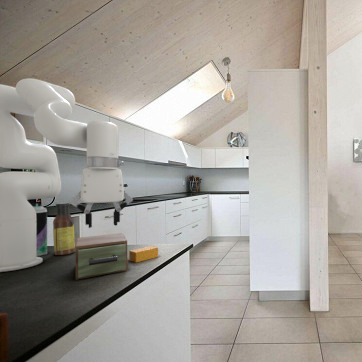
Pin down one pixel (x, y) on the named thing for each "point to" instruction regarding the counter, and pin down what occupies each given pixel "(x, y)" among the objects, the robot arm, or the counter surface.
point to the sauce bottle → (63, 230)
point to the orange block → (143, 254)
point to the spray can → (41, 229)
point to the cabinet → (99, 241)
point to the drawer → (101, 259)
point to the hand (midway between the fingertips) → (103, 225)
